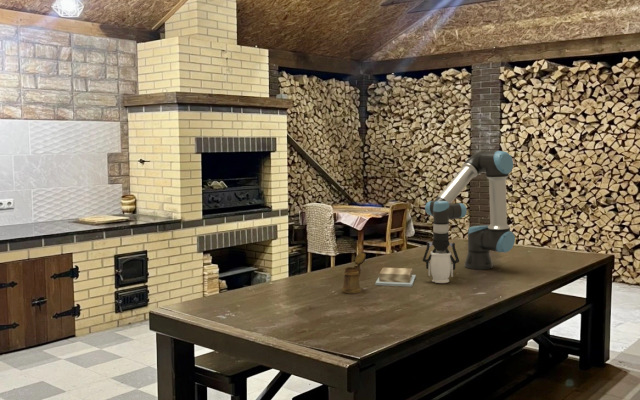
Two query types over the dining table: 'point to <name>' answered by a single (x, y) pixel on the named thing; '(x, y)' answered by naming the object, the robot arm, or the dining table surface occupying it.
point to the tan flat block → (395, 275)
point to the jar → (440, 266)
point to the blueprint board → (396, 283)
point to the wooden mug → (353, 275)
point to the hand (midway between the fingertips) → (440, 275)
